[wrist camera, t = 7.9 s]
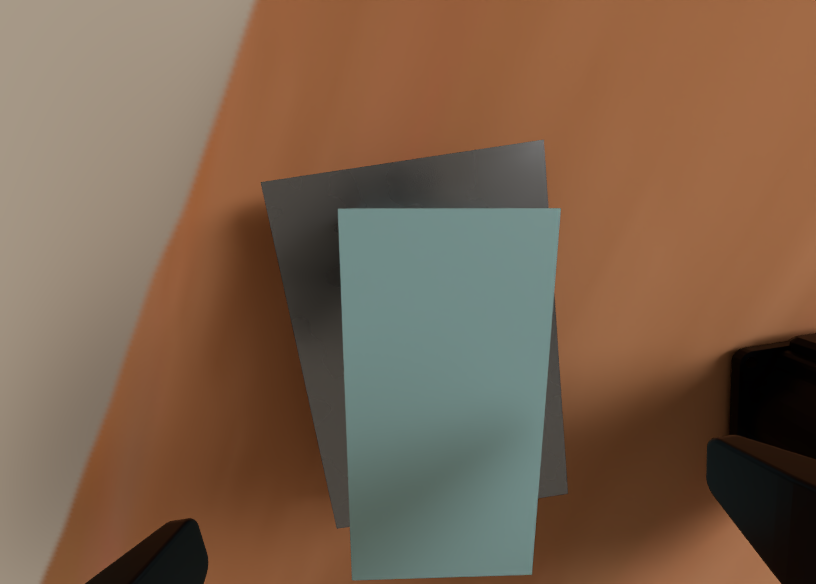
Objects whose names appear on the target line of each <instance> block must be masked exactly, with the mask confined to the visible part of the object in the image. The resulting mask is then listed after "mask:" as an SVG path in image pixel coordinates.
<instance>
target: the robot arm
mask: <svg viewBox="0 0 816 584" xmlns="http://www.w3.org/2000/svg"><path fill="white" fill-rule="evenodd" d="M748 358H749V361H748V362H747V363H746V361H747V359H748ZM706 478H707V483H708V486H709V489H710V491H711V493H712V494H713V496H714V497H715V498H716V500H717V501H718V502H719V504H720V505H721V506H722V508H723V509H724V510H725V511H726V513H727V514H728V515H729V517H730V518H731V519H732V521H733V522H734V523H735V524H736V526H737V527H738V528H739V530H740V531H741V532H742V534H743V535H744V536H745V537H746V539H747V540H748V541H749V543H750V544H751V545H752V547H753V548H754V549H755V550H756V552H757V553H758V554H759V556H760V557H761V558H762V560H763V561H764V562H765V564H766V565H767V566H768V567H769V569H770V570H771V571H772V573H773V574H774V575H775V576H776V578H777V579H778V580H779V581H780V582H781V584H816V333H814V334H807V335H801V336H796V337H794V338H792V339H790V341H786V342H779V343H772V344H766V345H759V346H753V347H746V348H742V349H739V350H738V351H737V352H735V354H734V355H733V358H732V372H731V402H730V433H729V435H728V436H722V437H715V438H712V439H711V440H709V442H708V444H707V473H706ZM207 570H208V555H207V552H206V548H205V545H204V542H203V539H202V535H201V532H200V529H199V526H198V523H197V522H196V521H195V520H194V519H191V518H188V519H181V520H175V521H170V522H168V523H166V524H165V525H163V526H162V527H161V528H159V529H158V530H157V531H155V532H154V533H152V534H151V535H150V536H148V537H147V538H146V539H144V540H143V541H142V542H140V543H139V544H138V545H136V546H135V547H134V548H132V549H131V550H130V551H128V552H127V553H126V554H124V555H123V556H122V557H120V558H119V559H118V560H116V561H115V562H114V563H112V564H111V565H109V566H108V567H107V568H105V569H104V570H103V571H101V572H100V573H99V574H97V575H96V576H95V577H93V578H92V579H91V580H89V581H88V582H87V583H85V584H204V581H205V578H206V574H207Z"/></svg>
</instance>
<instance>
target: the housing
mask: <svg viewBox="0 0 816 584" xmlns="http://www.w3.org/2000/svg"><path fill="white" fill-rule="evenodd" d="M560 211H561V208H351V209H338V227H339V253H340V279H341V305H342V331H343V358H344V384H345V410H346V436H347V462H348V488H349V514H350V540H351V567H352V580H380V579H412V578H443V577H475V576H507V575H532V567H533V554H534V541H535V529H536V516H537V503H538V490H539V478H540V465H541V452H542V440H543V427H544V414H545V402H546V389H547V376H548V364H549V351H550V338H551V326H552V313H553V300H554V288H555V275H556V262H557V250H558V237H559V224H560Z"/></svg>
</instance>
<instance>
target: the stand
mask: <svg viewBox="0 0 816 584" xmlns="http://www.w3.org/2000/svg"><path fill="white" fill-rule="evenodd" d="M261 186H262V190H263V195H264V199H265V204H266V208H267V213H268V218H269V222H270V227H271V231H272V236H273V240H274V245H275V249H276V254H277V258H278V263H279V268H280V272H281V277H282V281H283V286H284V290H285V295H286V299H287V304H288V309H289V313H290V318H291V322H292V327H293V331H294V336H295V340H296V345H297V350H298V354H299V359H300V363H301V368H302V372H303V377H304V381H305V386H306V390H307V395H308V400H309V404H310V409H311V413H312V418H313V422H314V427H315V431H316V436H317V441H318V445H319V450H320V454H321V459H322V463H323V468H324V472H325V477H326V481H327V486H328V491H329V495H330V500H331V504H332V509H333V513H334V518H335V522H336V527H337V529H338V528H345V527H350V514H349V488H348V462H347V436H346V410H345V384H344V358H343V331H342V305H341V279H340V253H339V227H338V209H351V208H548V195H547V180H546V165H545V151H544V140H539V141H532V142H525V143H519V144H512V145H505V146H499V147H492V148H485V149H479V150H472V151H465V152H459V153H452V154H446V155H439V156H432V157H426V158H419V159H412V160H406V161H399V162H392V163H386V164H379V165H372V166H366V167H359V168H352V169H346V170H339V171H332V172H326V173H319V174H313V175H306V176H299V177H293V178H286V179H279V180H273V181H266V182H261ZM562 494H568V487H567V473H566V458H565V444H564V429H563V414H562V400H561V385H560V370H559V356H558V341H557V326H556V312H555V297H554V300H553V313H552V326H551V338H550V351H549V364H548V376H547V389H546V402H545V414H544V427H543V440H542V452H541V465H540V478H539V490H538V498H543V497H549V496H556V495H562Z"/></svg>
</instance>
